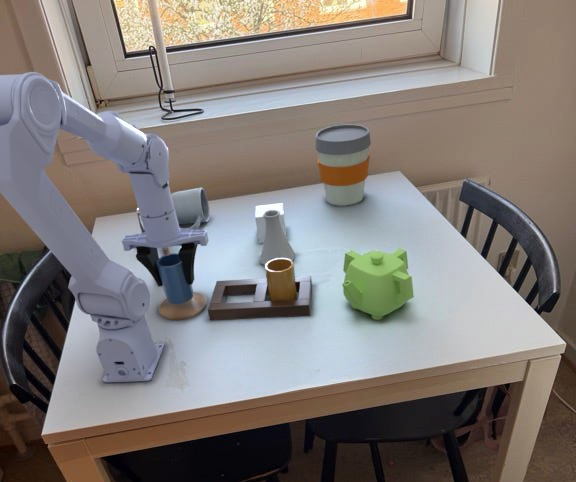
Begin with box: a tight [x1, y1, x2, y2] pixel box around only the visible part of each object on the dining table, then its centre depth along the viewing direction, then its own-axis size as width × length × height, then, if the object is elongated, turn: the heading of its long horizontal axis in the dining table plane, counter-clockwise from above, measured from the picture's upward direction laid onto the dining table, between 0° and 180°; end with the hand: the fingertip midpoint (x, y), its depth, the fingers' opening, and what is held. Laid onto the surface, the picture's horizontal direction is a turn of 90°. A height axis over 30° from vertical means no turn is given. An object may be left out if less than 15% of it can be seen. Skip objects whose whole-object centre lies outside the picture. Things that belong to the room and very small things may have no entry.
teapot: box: [341, 248, 415, 321], centre depth 93 cm, size 12×12×10 cm
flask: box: [259, 210, 296, 266], centre depth 109 cm, size 7×7×10 cm
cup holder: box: [207, 275, 313, 321], centre depth 100 cm, size 10×18×2 cm, turn 86°
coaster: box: [158, 291, 208, 321], centre depth 103 cm, size 9×9×1 cm
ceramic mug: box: [171, 187, 210, 230], centre depth 128 cm, size 11×8×8 cm
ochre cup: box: [264, 258, 298, 301], centre depth 98 cm, size 5×5×8 cm
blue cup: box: [156, 253, 194, 304], centre depth 99 cm, size 5×5×8 cm
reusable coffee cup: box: [314, 123, 372, 207], centre depth 128 cm, size 13×13×15 cm
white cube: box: [254, 202, 287, 244], centre depth 119 cm, size 6×6×6 cm
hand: (176, 282), depth 99 cm, fingers closed on blue cup, 5 cm apart
